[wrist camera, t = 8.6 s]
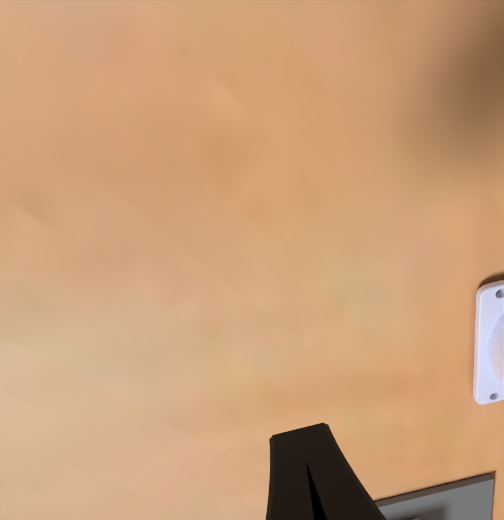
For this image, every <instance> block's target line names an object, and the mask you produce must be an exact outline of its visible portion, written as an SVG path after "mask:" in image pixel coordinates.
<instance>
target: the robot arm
mask: <svg viewBox="0 0 504 520" xmlns="http://www.w3.org/2000/svg"><path fill="white" fill-rule="evenodd" d="M500 289H501V290H500ZM498 290H500V291H499V292H498V293H496V292H497V291H498ZM473 398H474V399H475V401H476V402H477V403H478V404H481V405H482V404H488V403H492V402H496V401H500V400H504V280H501V281H497V282H493V283H489V284H485V285H483V286H482V287H480V288H479V290H478V291H477V295H476V322H475V353H474V384H473ZM269 441H270V482H269V496H268V505H267V514H266V520H387V519H386V518H385V517H384V515H383V514H382V512H381V511H380V510H379V508H378V507H377V505H376V504H375V502H374V501H373V500H372V498H371V497H370V495H369V494H368V493H367V491H366V490H365V488H364V487H363V485H362V484H361V482H360V481H359V479H358V478H357V476H356V475H355V473H354V472H353V470H352V468H351V467H350V465H349V463H348V462H347V460H346V459H345V457H344V455H343V453H342V452H341V450H340V448H339V446H338V444H337V443H336V441H335V439H334V437H333V435H332V432H331V430H330V428H329V425H327V424H325V423H320V424H316V425H312V426H308V427H304V428H300V429H296V430H292V431H288V432H284V433H280V434H276V435H273V436H272V437H271V438H270V439H269Z"/></svg>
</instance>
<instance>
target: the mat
mask: <svg viewBox="0 0 504 520" xmlns="http://www.w3.org/2000/svg"><path fill="white" fill-rule="evenodd" d="M493 487H494V478H493V477H492V475H491V474H486V475H482V476H478V477H474V478H470V479H466V480H462V481H458V482H454V483H450V484H446V485H442V486H437V487H433V488H429V489H425V490H421V491H417V492H413V493H409V494H405V495H401V496H397V497H393V498H389V499H384V500H380V501H376V502H375V504H376V505H377V507H378V508H379V510H380V511H381V512H382V514H383V515H384V517H385V518H386V519H387V520H412V519H416V518H419V520H491V514H492V501H493Z"/></svg>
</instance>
